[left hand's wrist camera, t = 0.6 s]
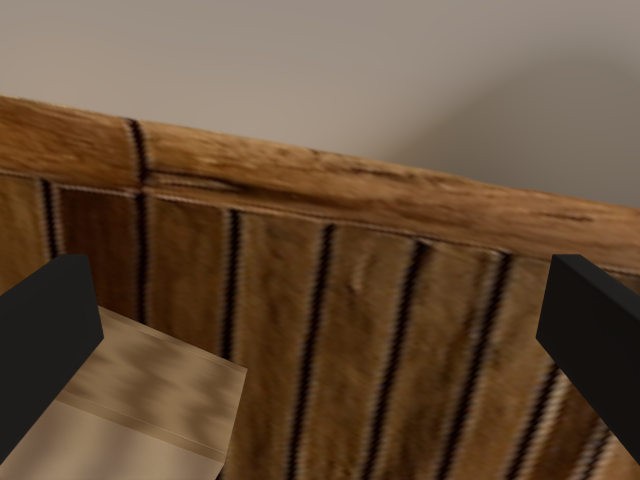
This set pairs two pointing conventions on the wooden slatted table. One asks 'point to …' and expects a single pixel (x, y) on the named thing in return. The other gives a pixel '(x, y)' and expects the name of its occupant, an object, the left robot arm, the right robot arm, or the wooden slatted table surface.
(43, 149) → the wooden slatted table surface
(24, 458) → the cabinet
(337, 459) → the wooden slatted table surface
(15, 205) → the wooden slatted table surface
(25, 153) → the wooden slatted table surface
